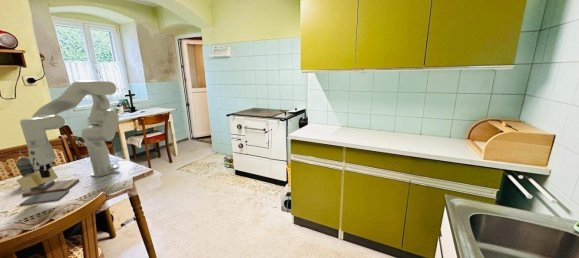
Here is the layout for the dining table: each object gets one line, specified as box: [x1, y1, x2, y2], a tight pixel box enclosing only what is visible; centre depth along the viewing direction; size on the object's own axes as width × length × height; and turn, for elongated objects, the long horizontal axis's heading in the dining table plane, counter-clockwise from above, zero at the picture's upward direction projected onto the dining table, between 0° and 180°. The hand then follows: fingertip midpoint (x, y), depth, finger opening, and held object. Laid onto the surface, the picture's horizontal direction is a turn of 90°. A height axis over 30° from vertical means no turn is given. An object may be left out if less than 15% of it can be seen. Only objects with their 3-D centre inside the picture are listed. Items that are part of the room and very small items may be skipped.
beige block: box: [16, 167, 59, 191], centre depth 120 cm, size 13×6×6 cm, turn 105°
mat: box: [19, 190, 70, 206], centre depth 123 cm, size 16×9×1 cm, turn 106°
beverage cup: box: [15, 150, 35, 177], centre depth 140 cm, size 7×7×20 cm
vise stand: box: [21, 166, 80, 197], centre depth 132 cm, size 20×12×15 cm, turn 106°
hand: (47, 176), depth 121 cm, fingers closed on beige block
